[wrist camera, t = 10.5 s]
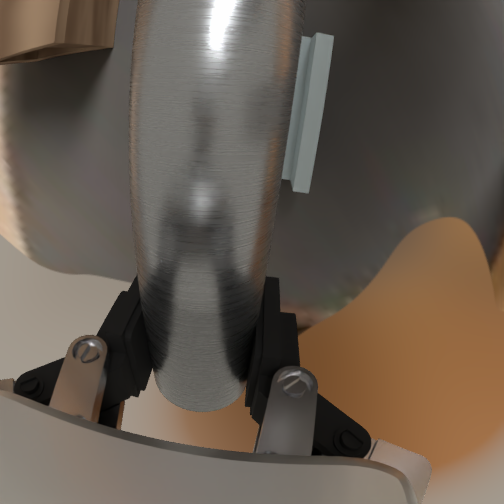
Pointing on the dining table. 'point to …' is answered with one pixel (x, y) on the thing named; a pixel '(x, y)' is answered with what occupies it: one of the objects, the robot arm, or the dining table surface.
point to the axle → (207, 181)
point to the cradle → (307, 110)
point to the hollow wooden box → (54, 28)
